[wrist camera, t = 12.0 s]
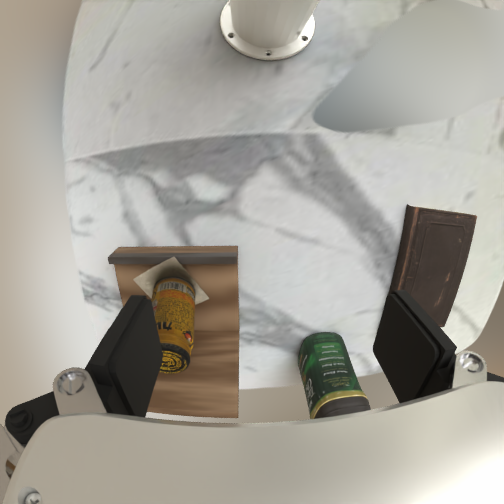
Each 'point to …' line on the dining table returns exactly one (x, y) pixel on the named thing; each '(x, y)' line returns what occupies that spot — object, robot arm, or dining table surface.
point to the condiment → (173, 310)
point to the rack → (195, 328)
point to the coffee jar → (329, 377)
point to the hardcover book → (433, 258)
